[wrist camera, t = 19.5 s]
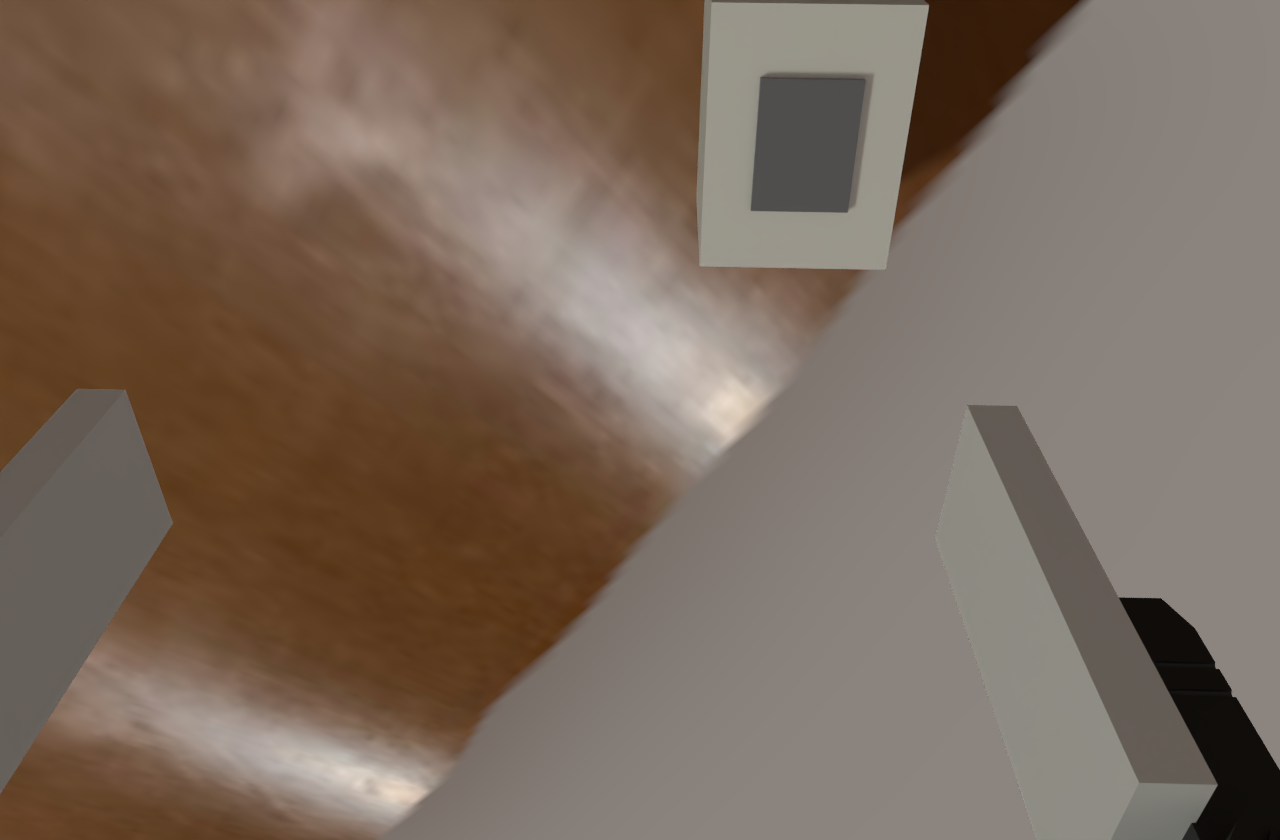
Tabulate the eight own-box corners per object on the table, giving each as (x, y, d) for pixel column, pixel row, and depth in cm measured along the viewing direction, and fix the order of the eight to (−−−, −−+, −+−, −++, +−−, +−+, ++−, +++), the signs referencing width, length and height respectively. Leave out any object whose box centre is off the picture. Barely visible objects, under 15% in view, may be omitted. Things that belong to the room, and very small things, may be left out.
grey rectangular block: (696, 196, 36) (699, 268, 31) (706, -37, 32) (711, 3, 27) (857, 199, 36) (886, 272, 31) (889, -34, 32) (930, 6, 26)
